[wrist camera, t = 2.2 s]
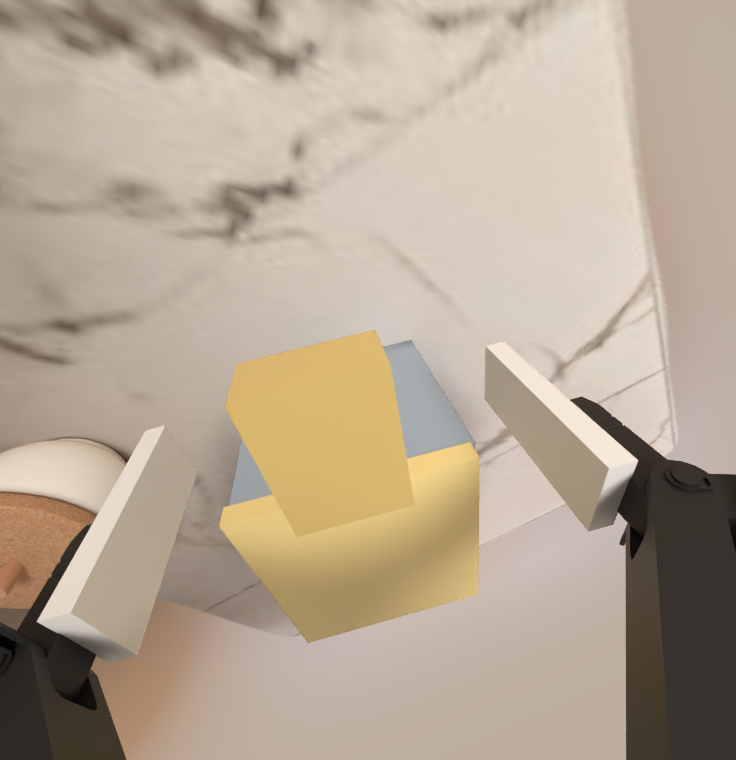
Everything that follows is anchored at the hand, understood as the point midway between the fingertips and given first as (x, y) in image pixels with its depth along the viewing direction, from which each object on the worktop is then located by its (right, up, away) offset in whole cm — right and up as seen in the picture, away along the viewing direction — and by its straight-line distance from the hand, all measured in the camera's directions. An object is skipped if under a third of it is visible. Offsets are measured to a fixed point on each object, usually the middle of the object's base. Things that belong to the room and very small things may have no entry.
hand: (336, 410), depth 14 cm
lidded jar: (-21, -5, +13) cm, 25 cm away
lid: (+1, -6, +4) cm, 7 cm away
